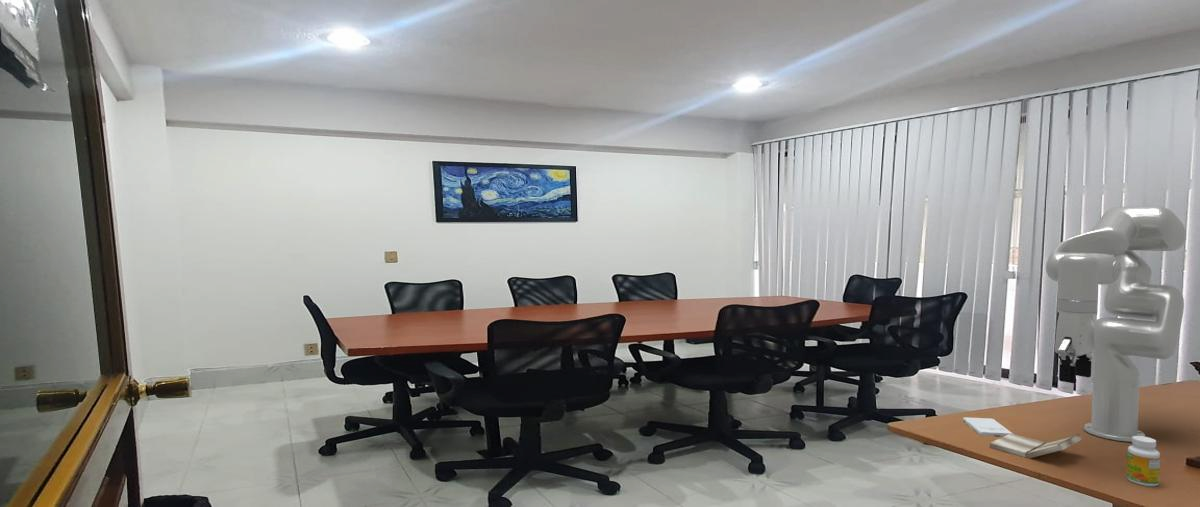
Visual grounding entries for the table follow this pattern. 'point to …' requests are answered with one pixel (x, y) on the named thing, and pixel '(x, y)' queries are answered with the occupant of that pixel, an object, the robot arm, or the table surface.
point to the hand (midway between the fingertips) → (1075, 378)
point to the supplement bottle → (1143, 461)
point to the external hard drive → (986, 426)
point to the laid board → (1016, 444)
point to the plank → (1054, 446)
